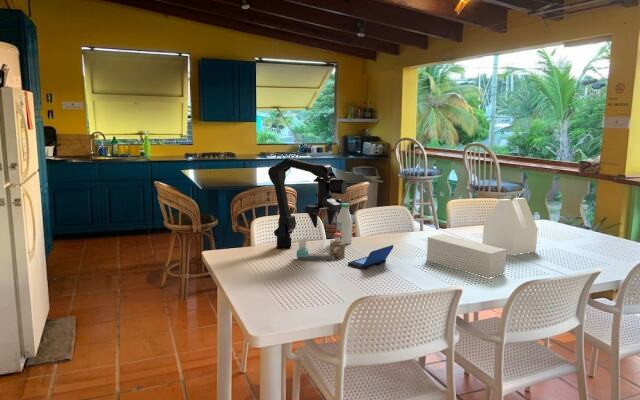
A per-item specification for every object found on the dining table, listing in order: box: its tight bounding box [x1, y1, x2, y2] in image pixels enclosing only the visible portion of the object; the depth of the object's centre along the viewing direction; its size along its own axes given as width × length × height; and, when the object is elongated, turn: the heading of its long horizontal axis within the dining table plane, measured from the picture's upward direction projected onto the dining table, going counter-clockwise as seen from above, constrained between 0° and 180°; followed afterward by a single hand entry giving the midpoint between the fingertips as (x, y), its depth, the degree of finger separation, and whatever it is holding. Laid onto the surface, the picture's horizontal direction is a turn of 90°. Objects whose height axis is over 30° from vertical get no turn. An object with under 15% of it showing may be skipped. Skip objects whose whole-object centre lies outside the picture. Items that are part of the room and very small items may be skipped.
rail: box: [297, 253, 335, 261], centre depth 220 cm, size 16×3×2 cm, turn 92°
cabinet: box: [329, 239, 346, 259], centre depth 227 cm, size 6×8×6 cm
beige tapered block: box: [482, 197, 539, 256], centre depth 241 cm, size 19×15×25 cm
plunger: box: [333, 232, 341, 243], centre depth 226 cm, size 3×3×5 cm
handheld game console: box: [347, 244, 394, 271], centre depth 212 cm, size 16×13×9 cm
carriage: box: [296, 237, 309, 258], centre depth 219 cm, size 5×5×8 cm
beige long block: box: [426, 233, 507, 279], centre depth 212 cm, size 32×11×11 cm, turn 37°
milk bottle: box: [335, 202, 353, 245], centre depth 249 cm, size 8×8×20 cm
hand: (322, 225), depth 228 cm, fingers open, 9 cm apart
